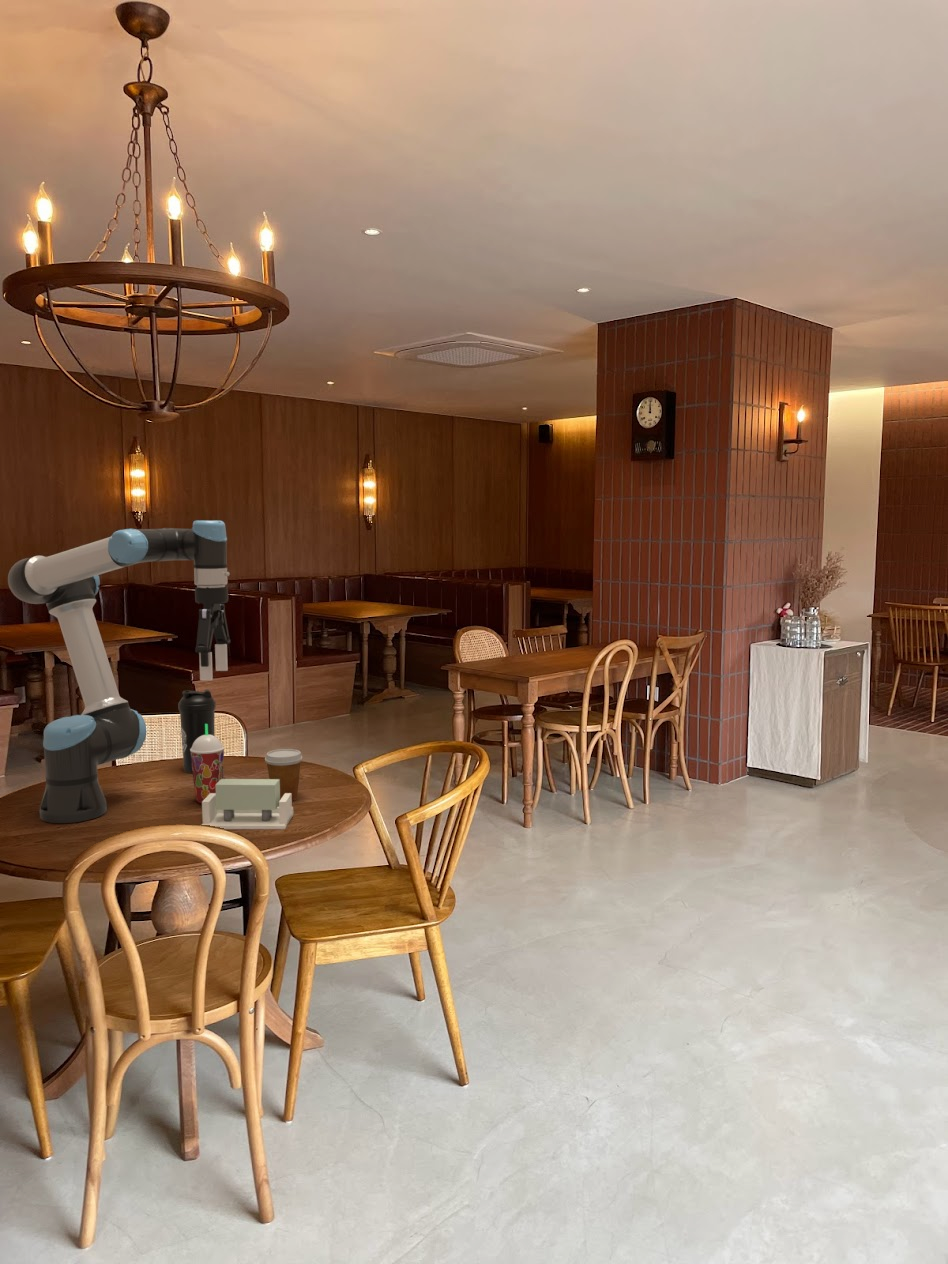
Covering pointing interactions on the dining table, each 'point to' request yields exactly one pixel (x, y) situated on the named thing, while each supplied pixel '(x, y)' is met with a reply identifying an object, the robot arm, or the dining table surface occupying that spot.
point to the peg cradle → (247, 815)
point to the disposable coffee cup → (285, 769)
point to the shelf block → (247, 794)
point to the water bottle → (195, 720)
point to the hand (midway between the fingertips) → (214, 675)
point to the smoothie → (206, 764)
